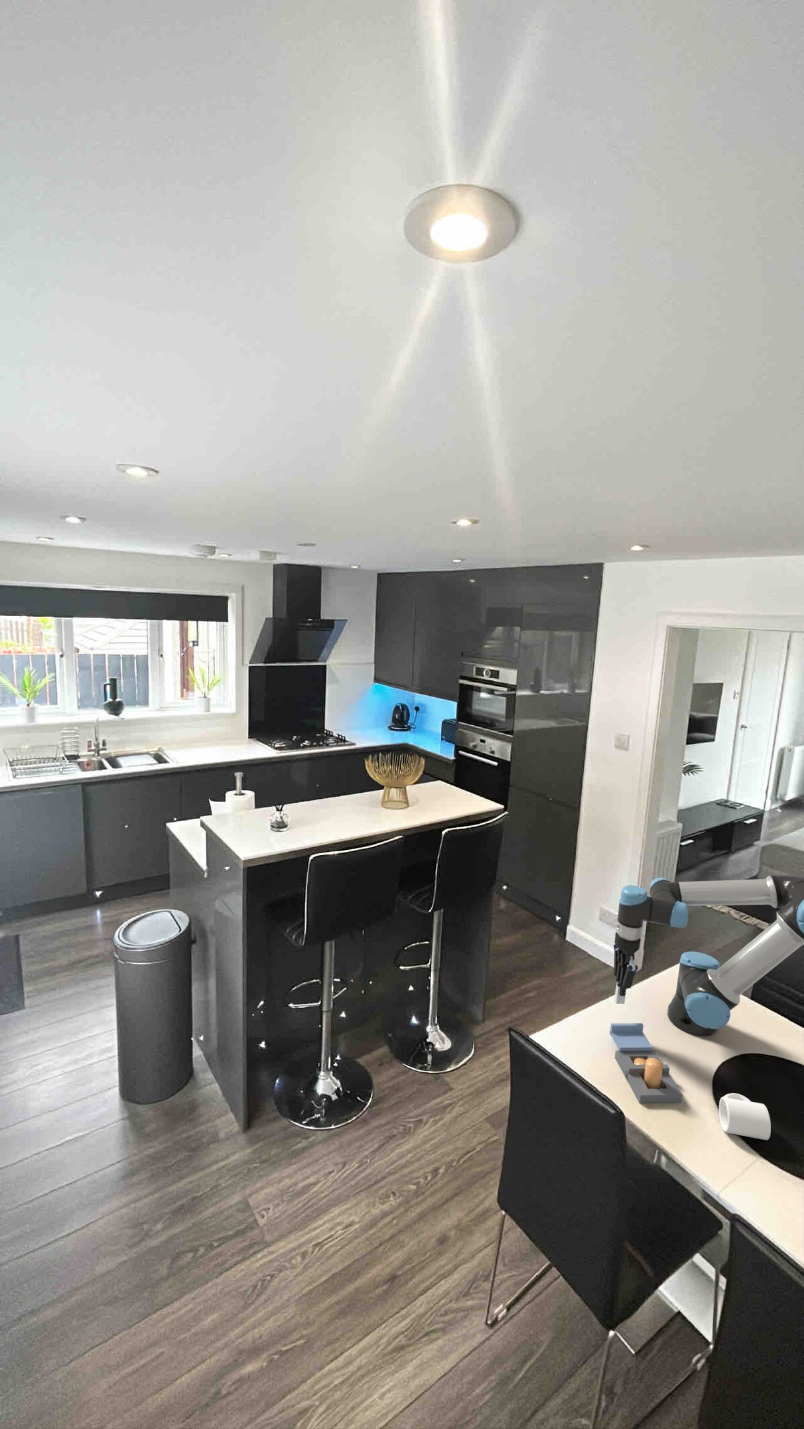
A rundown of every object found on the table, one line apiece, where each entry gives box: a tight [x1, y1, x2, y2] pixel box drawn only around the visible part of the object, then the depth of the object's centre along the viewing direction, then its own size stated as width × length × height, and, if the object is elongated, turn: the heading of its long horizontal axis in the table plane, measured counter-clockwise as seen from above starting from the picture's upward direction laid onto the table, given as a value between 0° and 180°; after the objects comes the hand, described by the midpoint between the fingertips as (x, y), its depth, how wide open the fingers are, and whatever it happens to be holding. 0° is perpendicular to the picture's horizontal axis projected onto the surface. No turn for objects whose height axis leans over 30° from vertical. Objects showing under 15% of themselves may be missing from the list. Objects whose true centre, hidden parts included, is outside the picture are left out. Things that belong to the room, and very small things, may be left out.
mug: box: [718, 1092, 772, 1141], centre depth 164 cm, size 12×10×8 cm
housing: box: [614, 1049, 684, 1104], centre depth 179 cm, size 12×17×4 cm
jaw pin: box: [644, 1058, 664, 1089], centre depth 175 cm, size 4×4×8 cm
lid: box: [609, 1022, 653, 1051], centre depth 190 cm, size 10×8×4 cm
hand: (619, 1002), depth 198 cm, fingers closed
